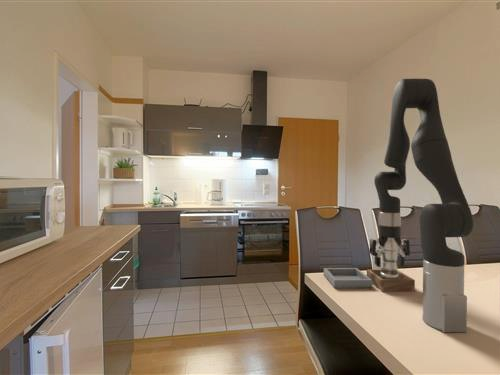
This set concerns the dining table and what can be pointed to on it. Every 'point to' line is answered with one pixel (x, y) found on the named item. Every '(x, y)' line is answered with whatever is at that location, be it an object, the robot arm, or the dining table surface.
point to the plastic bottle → (390, 260)
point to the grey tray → (347, 278)
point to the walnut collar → (391, 281)
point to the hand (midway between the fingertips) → (389, 266)
